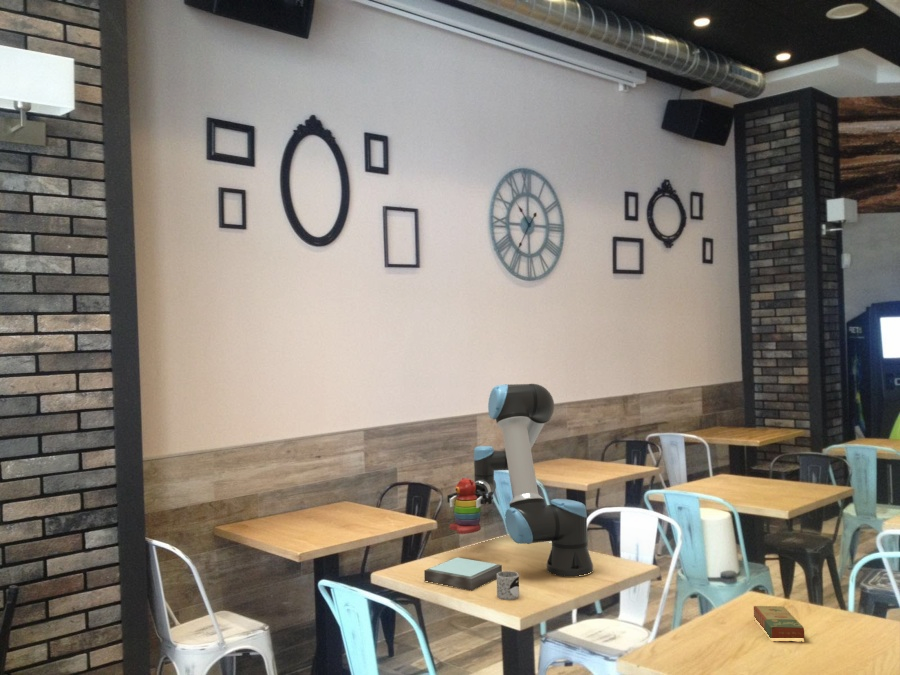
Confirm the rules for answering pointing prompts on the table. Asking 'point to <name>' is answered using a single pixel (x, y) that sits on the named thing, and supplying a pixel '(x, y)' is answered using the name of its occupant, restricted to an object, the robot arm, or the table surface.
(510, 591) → the mug
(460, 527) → the stacking bear
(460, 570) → the plinth
